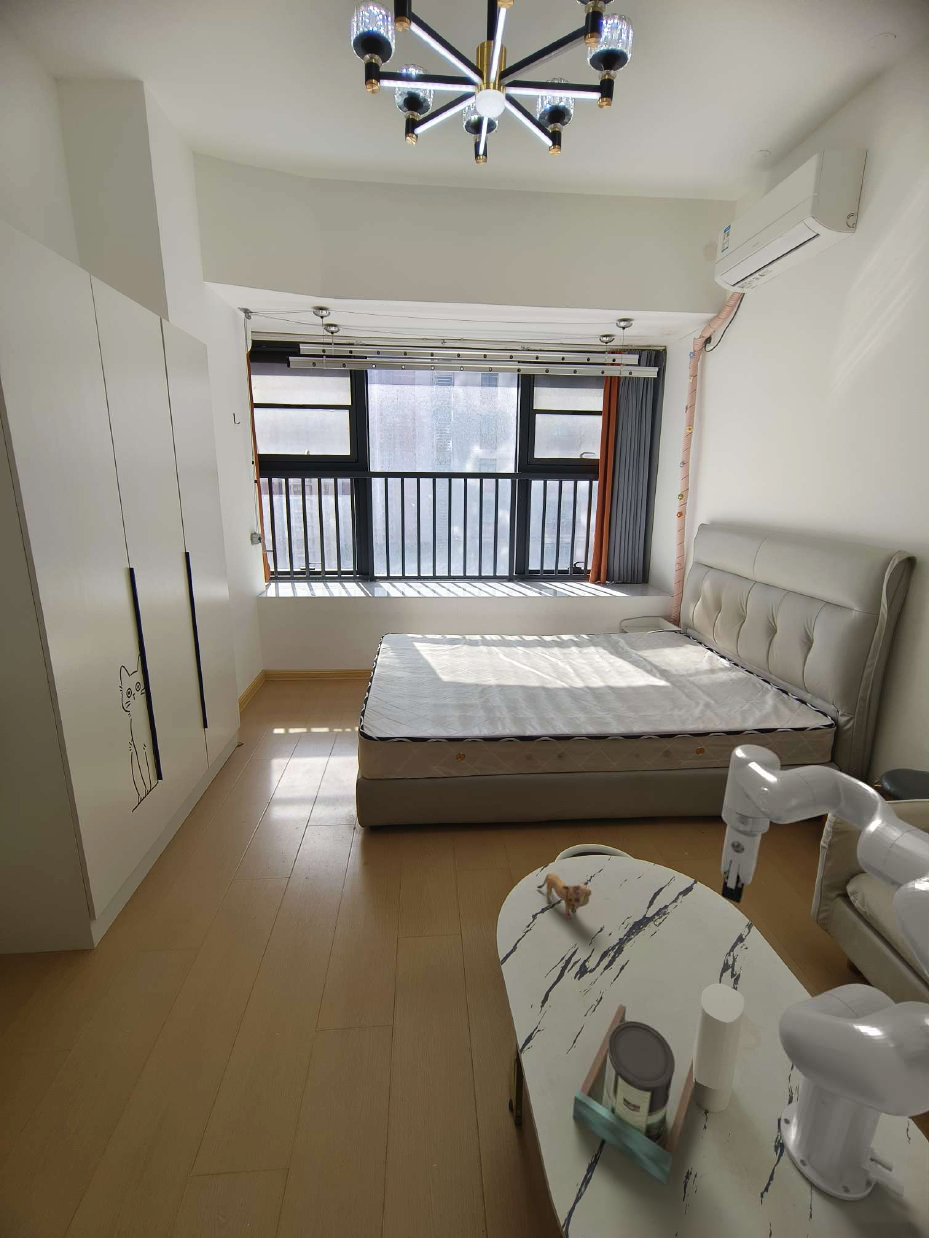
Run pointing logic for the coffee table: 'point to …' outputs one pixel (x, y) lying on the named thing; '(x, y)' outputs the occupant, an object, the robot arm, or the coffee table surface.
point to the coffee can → (639, 1078)
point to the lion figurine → (567, 893)
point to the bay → (620, 1131)
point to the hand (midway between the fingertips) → (731, 896)
